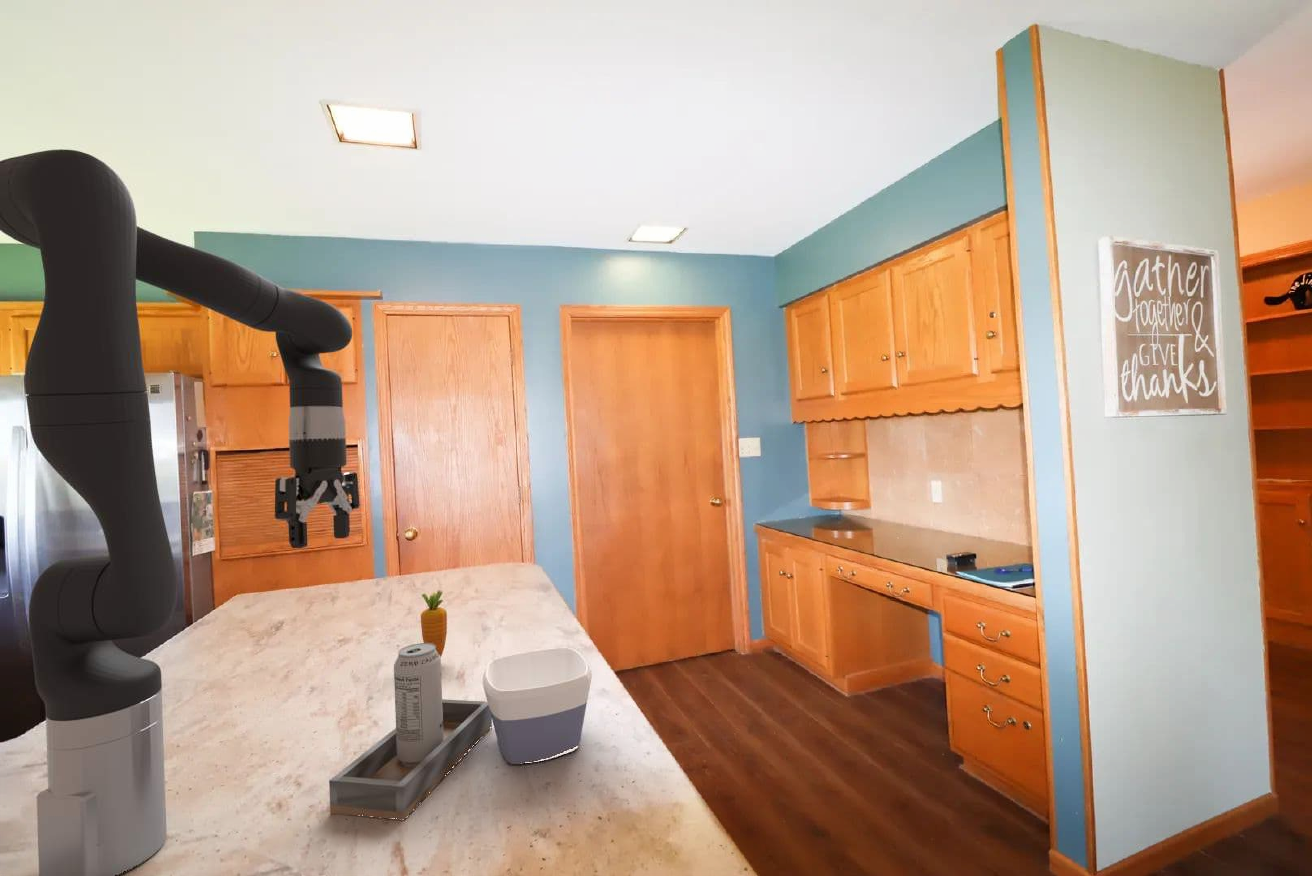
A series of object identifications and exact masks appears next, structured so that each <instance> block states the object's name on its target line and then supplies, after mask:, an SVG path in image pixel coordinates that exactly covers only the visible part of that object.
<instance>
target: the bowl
mask: <svg viewBox="0 0 1312 876" xmlns="http://www.w3.org/2000/svg"><path fill="white" fill-rule="evenodd" d="M587 661H588V660H586V658H585V657H583V655H582V654H581V653H579V652H578V651H577V650H575V649H573V648H571V647H554V648H553V647H552V648H543V649H537V650H528V651H523V652H519V653H513V654H509V655H504V656H501V657H497V658H494V659H492V660H490V662H489V663H488V664H487V665H486V667H485V669H484V672H483V676H482V687H483V690H484V694H485V695H484V696H485V697H486V702H488V706H489V709H490V713H491V717H492V726H493V727H494V728H493V729H494V731H495V736H496V740H497V744H498V748H499V751H500V754H501V755H502V757H503V759H504V760H505V761H506V763H508V762H509V763H508V764H510V763H511V764H510V765H512V764H521V763H525V762H534V761H538V760H541V759H546V758H550V757H552V756H555V755H557V754H560V753H563V752H564V751H567V750H569V749H573V748H574V747H576V746H578V745H579V746H580V744H579V743H581V740H582V739H581V738H582V734H583V733H582V732H583V726H584V721H585V716H586V711H587V705H588V699H589V693H590V688H591V682H592V677H593V674H592V670H591V668H590V665H589V663H588V662H587Z"/></svg>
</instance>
